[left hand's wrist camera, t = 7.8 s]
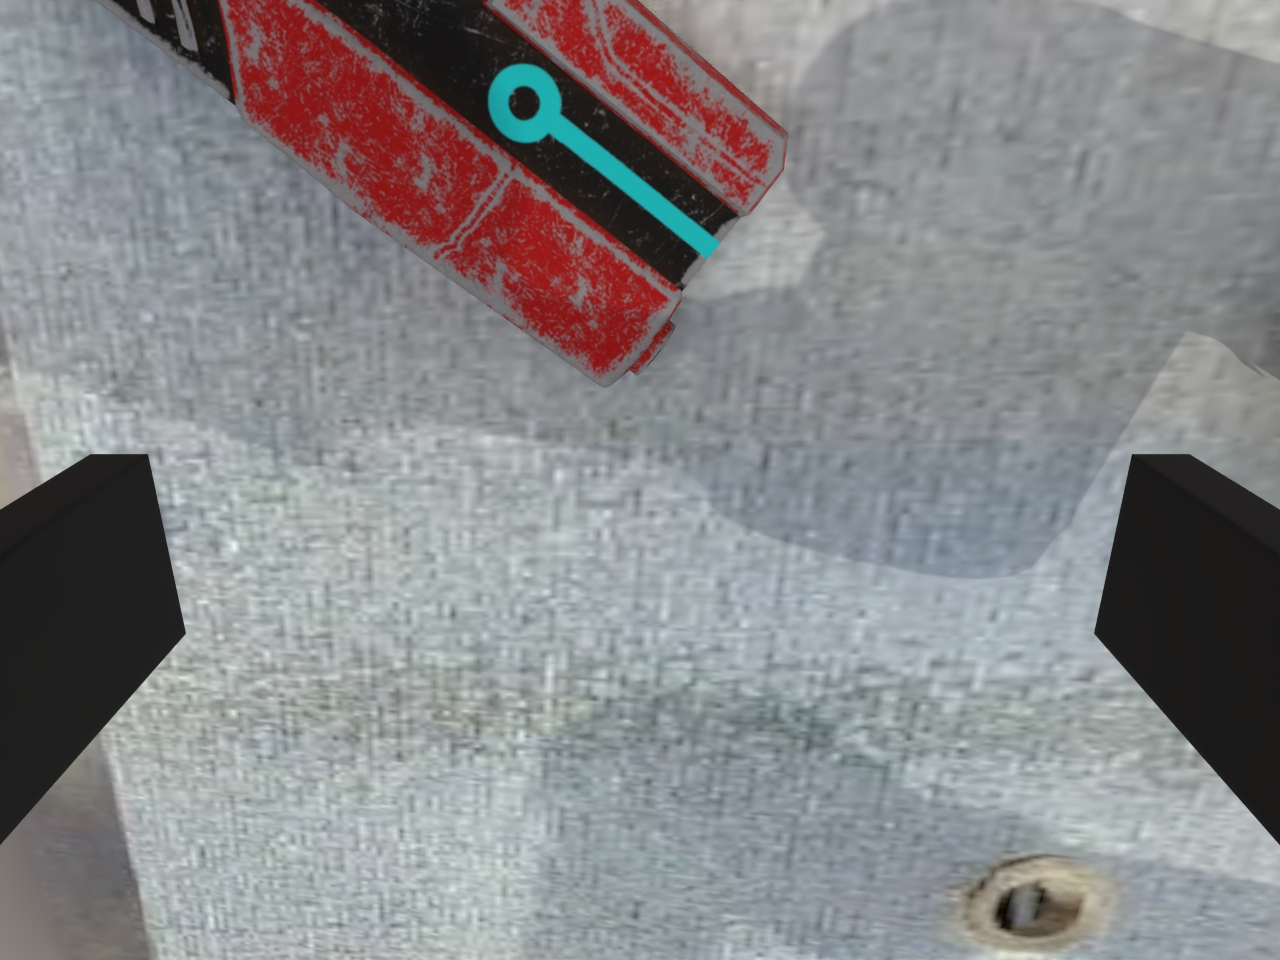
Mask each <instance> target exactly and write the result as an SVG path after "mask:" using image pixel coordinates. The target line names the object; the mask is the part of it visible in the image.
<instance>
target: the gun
mask: <svg viewBox="0 0 1280 960" xmlns="http://www.w3.org/2000/svg"><path fill="white" fill-rule="evenodd" d="M96 1H97V2H98V3H100V4H101V5H102V6H104V7H105V8H106V9H108V10H109V11H110V12H112V13H113V14H114V15H116V16H117V17H118V18H120V19H121V20H122V21H124V22H125V23H126V24H128V25H129V26H130V27H132V28H133V29H134V30H136V31H137V32H138V33H140V34H141V35H142V36H144V37H145V38H146V39H148V40H149V41H150V42H152V43H153V44H154V45H156V46H157V47H158V48H160V49H161V50H162V51H164V52H165V53H166V54H168V55H169V56H170V57H172V58H173V59H174V60H176V61H177V62H178V63H180V64H181V65H182V66H184V67H185V68H186V69H188V70H189V71H190V72H192V73H193V74H194V75H196V76H197V77H198V78H200V79H201V80H202V81H204V82H205V83H206V84H208V85H209V86H210V87H212V88H213V89H214V90H216V91H217V92H218V93H219V94H221V95H222V96H223V97H225V98H226V99H227V100H229V101H230V102H231V103H233V104H234V105H235V106H236V107H237V109H238V111H239V113H240V115H241V117H242V119H243V121H244V122H245V123H246V124H247V125H249V126H250V127H251V128H253V129H254V130H255V131H256V132H258V133H259V134H260V135H261V136H263V137H264V138H265V139H267V140H268V141H269V142H270V143H272V144H273V145H274V146H276V147H277V148H278V149H279V150H281V151H282V152H283V153H284V154H286V155H287V156H288V157H289V158H291V159H292V160H293V161H294V162H295V163H297V164H298V165H299V166H300V167H302V168H303V169H304V170H305V171H306V172H308V173H309V174H310V175H311V176H312V177H314V178H315V179H316V180H317V181H319V182H320V183H321V184H322V185H323V186H325V187H326V188H327V189H328V190H329V191H331V192H332V193H333V194H334V195H335V196H337V197H338V198H339V199H340V200H341V201H343V202H344V203H345V204H346V205H347V206H349V207H350V208H351V209H352V210H354V211H355V212H357V213H358V214H359V215H361V216H362V217H364V218H365V219H366V220H368V221H369V222H371V223H372V224H373V225H375V226H376V227H378V228H379V229H380V230H382V231H383V232H385V233H386V234H387V235H389V236H390V237H392V238H393V239H395V240H396V241H397V242H399V243H400V244H402V245H403V246H404V247H406V248H407V249H409V250H410V251H411V252H413V253H414V254H416V255H417V256H418V257H420V258H421V259H423V260H424V261H425V262H427V263H428V264H430V265H431V266H433V267H434V268H435V269H437V270H438V271H440V272H441V273H442V274H444V275H445V276H447V277H448V278H449V279H451V280H452V281H454V282H455V283H456V284H458V285H459V286H461V287H462V288H463V289H465V290H466V291H468V292H469V293H471V294H472V295H473V296H475V297H476V298H478V299H479V300H480V301H482V302H483V303H485V304H486V305H487V306H489V307H490V308H492V309H493V310H494V311H496V312H497V313H499V314H500V315H502V316H503V317H504V318H506V319H507V320H509V321H510V322H511V323H513V324H514V325H516V326H517V327H518V328H520V329H521V330H523V331H524V332H525V333H527V334H528V335H530V336H531V337H532V338H534V339H535V340H537V341H538V342H540V343H541V344H542V345H544V346H545V347H547V348H548V349H549V350H551V351H552V352H554V353H555V354H556V355H558V356H559V357H561V358H562V359H563V360H565V361H566V362H568V363H569V364H570V365H572V366H573V367H575V368H576V369H578V370H579V371H580V372H582V373H583V374H585V375H586V376H587V377H589V378H590V379H592V380H593V381H594V382H596V383H597V384H599V385H600V386H602V387H609V386H610V385H612V384H613V383H614V382H616V381H617V380H618V379H619V378H620V377H622V376H623V375H624V374H625V373H626V372H628V371H629V370H631V371H632V372H633V373H634V374H635V375H638V374H640V373H641V372H642V371H643V370H644V369H645V368H646V367H647V366H648V365H649V364H650V363H651V362H652V361H653V359H654V358H655V357H656V356H657V354H658V353H659V352H660V351H661V349H662V348H663V347H664V345H665V344H666V342H667V341H668V339H669V338H670V336H671V335H672V333H673V331H674V329H675V325H674V324H673V323H672V322H671V321H669V319H670V318H671V316H672V314H673V313H674V311H675V310H676V308H677V307H678V305H679V304H680V302H681V298H682V291H683V289H684V288H685V287H686V285H687V284H688V283H689V282H690V280H691V279H692V278H693V277H694V275H695V274H696V273H697V272H698V270H699V269H700V268H701V266H702V265H703V264H704V263H705V261H706V260H707V259H708V258H709V256H710V255H711V254H712V253H713V251H714V250H715V249H716V247H717V246H718V245H719V244H720V242H721V241H722V240H723V239H724V237H725V236H726V235H727V233H728V232H729V231H730V230H731V228H732V227H733V226H734V225H735V223H736V222H737V221H738V220H739V218H740V217H742V216H746V215H750V214H751V213H752V211H753V210H754V209H755V207H756V206H757V205H758V203H759V202H760V201H761V199H762V198H763V197H764V195H765V194H766V193H767V191H768V190H769V189H770V187H771V186H772V185H773V183H774V182H775V181H776V179H777V178H778V177H779V175H780V174H781V173H782V172H783V170H784V164H785V155H786V146H787V138H788V132H786V131H785V130H784V129H783V128H782V127H781V126H780V125H778V124H777V123H776V122H775V121H774V120H773V119H772V118H771V117H769V116H768V115H767V114H766V113H765V112H764V111H763V110H762V109H760V108H759V107H758V106H757V105H756V104H755V103H754V102H752V101H751V100H750V99H749V98H748V97H747V96H746V95H745V94H743V93H742V92H741V91H740V90H739V89H738V88H737V87H735V86H734V85H733V84H732V83H731V82H730V81H729V80H728V79H726V78H725V77H724V76H723V75H722V74H721V73H720V72H718V71H717V70H716V69H715V68H714V67H713V66H712V65H711V64H709V63H708V62H707V61H706V60H705V59H704V58H703V57H701V56H700V55H699V54H698V53H697V52H696V51H695V50H694V49H692V48H691V47H690V46H689V45H688V44H687V43H686V42H684V41H683V40H682V39H681V38H680V37H679V36H678V35H677V34H675V33H674V32H673V31H672V30H671V29H670V28H669V27H667V26H666V25H665V24H664V23H663V22H662V21H661V20H660V19H658V18H657V17H656V16H655V15H654V14H653V13H652V12H650V11H649V10H648V9H647V8H646V7H645V6H644V5H643V4H641V3H640V2H639V1H638V0H96Z"/></svg>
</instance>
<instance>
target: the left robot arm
mask: <svg viewBox="0 0 1280 960" xmlns="http://www.w3.org/2000/svg"><path fill="white" fill-rule="evenodd" d="M185 634H186V632H185V627H184V622H183V618H182V613H181V608H180V603H179V599H178V594H177V589H176V584H175V580H174V575H173V570H172V566H171V561H170V556H169V551H168V547H167V542H166V537H165V533H164V528H163V523H162V518H161V514H160V509H159V504H158V499H157V495H156V490H155V485H154V481H153V476H152V471H151V466H150V462H149V457H148V454H90V455H88V456H87V457H85V458H84V459H82V460H80V461H79V462H77V463H75V464H74V465H72V466H71V467H69V468H67V469H66V470H64V471H62V472H61V473H59V474H58V475H56V476H54V477H53V478H51V479H49V480H48V481H46V482H45V483H43V484H41V485H40V486H38V487H36V488H35V489H33V490H32V491H30V492H28V493H27V494H25V495H23V496H22V497H20V498H19V499H17V500H15V501H14V502H12V503H10V504H9V505H7V506H6V507H4V508H2V509H1V510H0V845H1V843H2V842H3V841H4V840H5V839H6V838H7V837H8V835H9V834H10V833H11V832H12V831H13V830H14V829H15V828H16V826H17V825H18V824H19V823H20V822H21V821H22V820H23V818H24V817H25V816H26V815H27V814H28V813H29V812H30V810H31V809H32V808H33V807H34V806H35V805H36V804H37V802H38V801H39V800H40V799H41V798H42V797H43V796H44V795H45V793H46V792H47V791H48V790H49V789H50V788H51V787H52V785H53V784H54V783H55V782H56V781H57V780H58V779H59V777H60V776H61V775H62V774H63V773H64V772H65V771H66V769H67V768H68V767H69V766H70V765H71V764H72V763H73V761H74V760H75V759H76V758H77V757H78V756H79V755H80V754H81V752H82V751H83V750H84V749H85V748H86V747H87V746H88V744H89V743H90V742H91V741H92V740H93V739H94V738H95V736H96V735H97V734H98V733H99V732H100V731H101V730H102V728H103V727H104V726H105V725H106V724H107V723H108V722H109V720H110V719H111V718H112V717H113V716H114V715H115V714H116V713H117V711H118V710H119V709H120V708H121V707H122V706H123V705H124V703H125V702H126V701H127V700H128V699H129V698H130V697H131V695H132V694H133V693H134V692H135V691H136V690H137V689H138V687H139V686H140V685H141V684H142V683H143V682H144V681H145V679H146V678H147V677H148V676H149V675H150V674H151V673H152V672H153V670H154V669H155V668H156V667H157V666H158V665H159V664H160V662H161V661H162V660H163V659H164V658H165V657H166V656H167V654H168V653H169V652H170V651H171V650H172V649H173V648H174V646H175V645H176V644H177V643H178V642H179V641H180V640H181V639H182V637H183V636H184V635H185ZM1094 634H1095V635H1096V636H1097V637H1098V639H1099V640H1100V641H1101V642H1102V643H1103V644H1104V645H1105V646H1106V648H1107V649H1108V650H1109V651H1110V652H1111V653H1112V654H1113V656H1114V657H1115V658H1116V659H1117V660H1118V661H1119V662H1120V664H1121V665H1122V666H1123V667H1124V668H1125V669H1126V670H1127V672H1128V673H1129V674H1130V675H1131V676H1132V677H1133V678H1134V679H1135V681H1136V682H1137V683H1138V684H1139V685H1140V686H1141V687H1142V689H1143V690H1144V691H1145V692H1146V693H1147V694H1148V695H1149V697H1150V698H1151V699H1152V700H1153V701H1154V702H1155V703H1156V705H1157V706H1158V707H1159V708H1160V709H1161V710H1162V711H1163V713H1164V714H1165V715H1166V716H1167V717H1168V718H1169V719H1170V720H1171V722H1172V723H1173V724H1174V725H1175V726H1176V727H1177V728H1178V730H1179V731H1180V732H1181V733H1182V734H1183V735H1184V736H1185V738H1186V739H1187V740H1188V741H1189V742H1190V743H1191V744H1192V746H1193V747H1194V748H1195V749H1196V750H1197V751H1198V752H1199V754H1200V755H1201V756H1202V757H1203V758H1204V759H1205V760H1206V761H1207V763H1208V764H1209V765H1210V766H1211V767H1212V768H1213V769H1214V771H1215V772H1216V773H1217V774H1218V775H1219V776H1220V777H1221V779H1222V780H1223V781H1224V782H1225V783H1226V784H1227V785H1228V787H1229V788H1230V789H1231V790H1232V791H1233V792H1234V793H1235V795H1236V796H1237V797H1238V798H1239V799H1240V800H1241V801H1242V802H1243V804H1244V805H1245V806H1246V807H1247V808H1248V809H1249V810H1250V812H1251V813H1252V814H1253V815H1254V816H1255V817H1256V818H1257V820H1258V821H1259V822H1260V823H1261V824H1262V825H1263V826H1264V828H1265V829H1266V830H1267V831H1268V832H1269V833H1270V834H1271V836H1272V837H1273V838H1274V839H1275V840H1276V841H1277V842H1278V843H1279V845H1280V510H1279V509H1278V508H1276V507H1274V506H1273V505H1271V504H1270V503H1268V502H1266V501H1265V500H1263V499H1261V498H1260V497H1258V496H1257V495H1255V494H1253V493H1252V492H1250V491H1248V490H1247V489H1245V488H1244V487H1242V486H1240V485H1239V484H1237V483H1235V482H1234V481H1232V480H1231V479H1229V478H1227V477H1226V476H1224V475H1222V474H1221V473H1219V472H1218V471H1216V470H1214V469H1213V468H1211V467H1209V466H1208V465H1206V464H1205V463H1203V462H1201V461H1200V460H1198V459H1196V458H1195V457H1193V456H1192V455H1190V454H1132V457H1131V462H1130V466H1129V471H1128V476H1127V481H1126V485H1125V490H1124V495H1123V499H1122V504H1121V509H1120V514H1119V518H1118V523H1117V528H1116V533H1115V537H1114V542H1113V547H1112V551H1111V556H1110V561H1109V566H1108V570H1107V575H1106V580H1105V584H1104V589H1103V594H1102V599H1101V603H1100V608H1099V613H1098V617H1097V622H1096V627H1095V632H1094Z"/></svg>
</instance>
